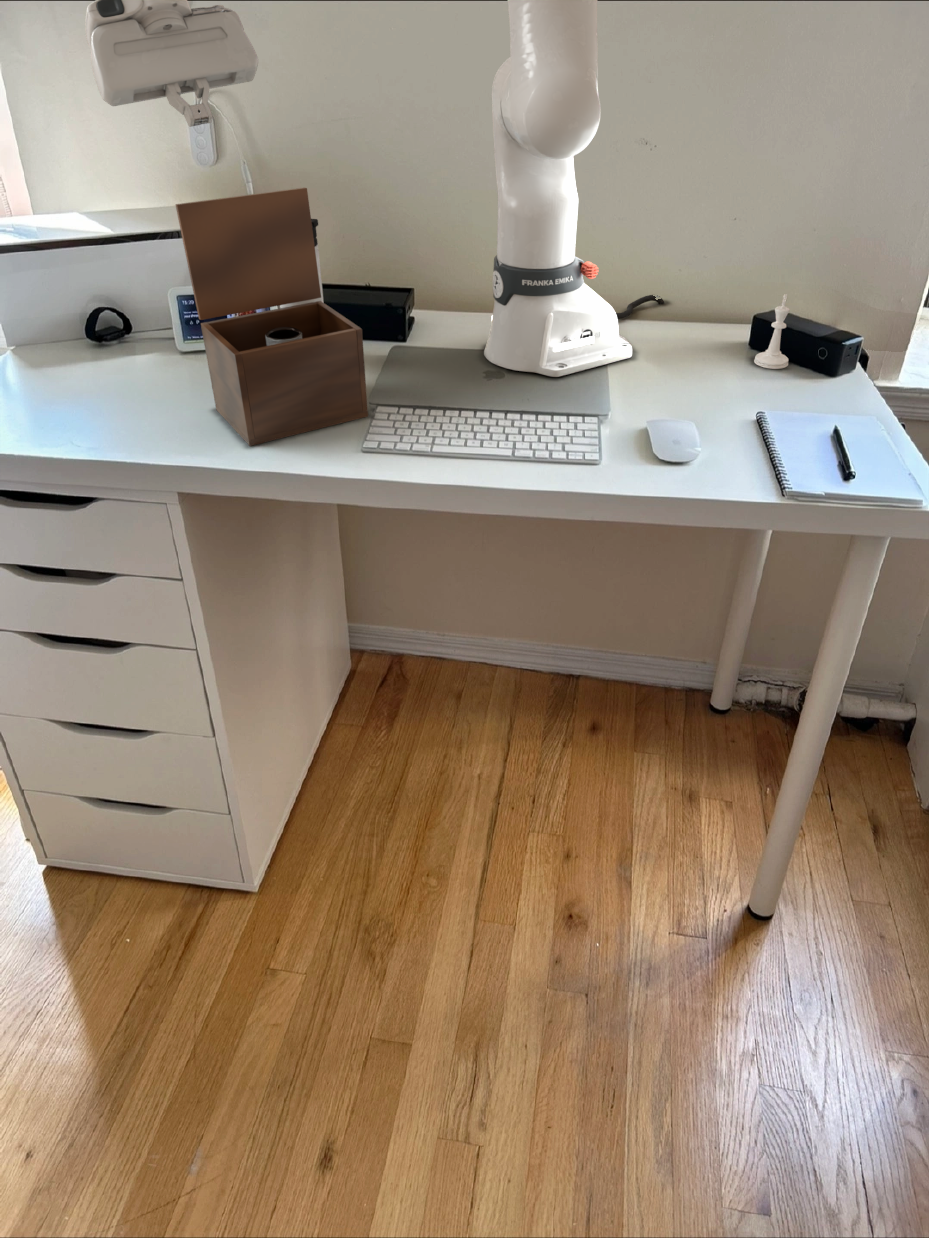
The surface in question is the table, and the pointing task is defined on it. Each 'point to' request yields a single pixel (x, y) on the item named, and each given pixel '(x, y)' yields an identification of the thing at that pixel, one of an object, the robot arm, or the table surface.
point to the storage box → (286, 372)
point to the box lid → (249, 251)
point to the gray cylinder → (282, 335)
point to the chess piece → (775, 342)
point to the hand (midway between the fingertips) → (201, 122)
